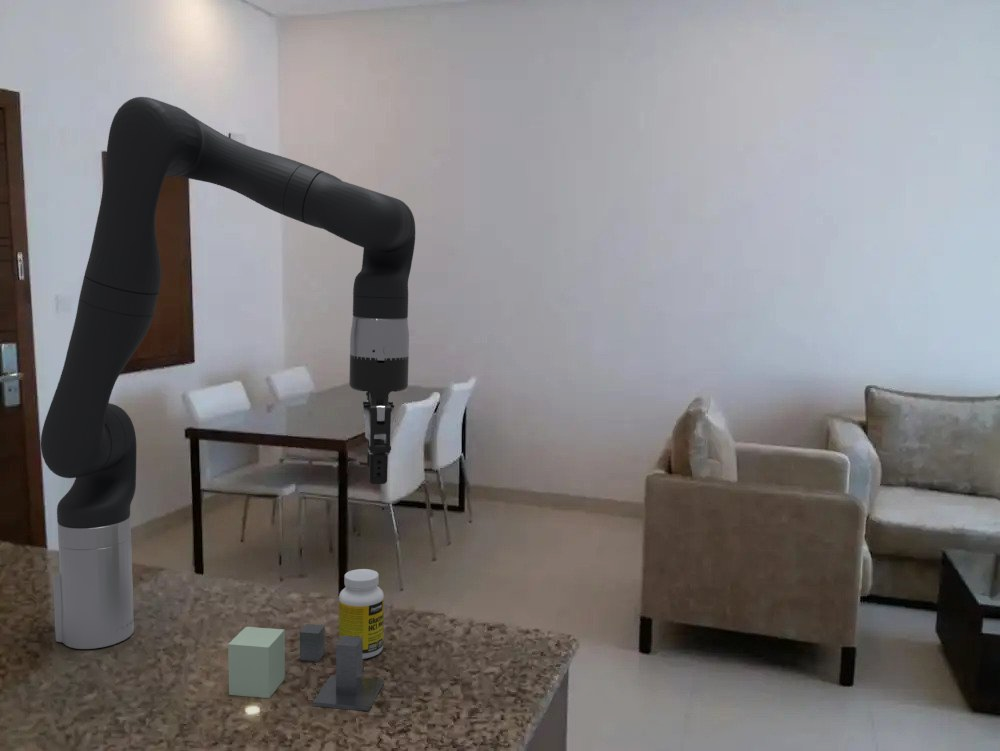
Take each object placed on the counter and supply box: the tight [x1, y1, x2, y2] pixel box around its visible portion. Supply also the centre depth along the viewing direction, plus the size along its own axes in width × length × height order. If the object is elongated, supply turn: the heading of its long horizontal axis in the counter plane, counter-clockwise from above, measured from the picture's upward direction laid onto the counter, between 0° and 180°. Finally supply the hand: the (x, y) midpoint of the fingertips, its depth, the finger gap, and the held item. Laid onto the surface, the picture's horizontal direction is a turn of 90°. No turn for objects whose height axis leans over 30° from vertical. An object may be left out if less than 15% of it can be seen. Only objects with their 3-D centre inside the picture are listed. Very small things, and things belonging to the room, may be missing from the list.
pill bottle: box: [338, 568, 385, 660], centre depth 116 cm, size 6×6×11 cm
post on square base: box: [312, 636, 385, 712], centre depth 104 cm, size 7×7×7 cm
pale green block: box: [227, 626, 286, 699], centre depth 105 cm, size 5×5×7 cm
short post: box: [299, 623, 326, 663], centre depth 114 cm, size 3×3×4 cm
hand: (376, 474), depth 109 cm, fingers open, 8 cm apart
